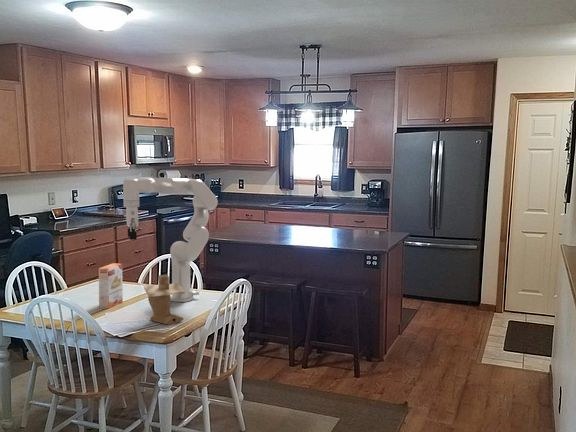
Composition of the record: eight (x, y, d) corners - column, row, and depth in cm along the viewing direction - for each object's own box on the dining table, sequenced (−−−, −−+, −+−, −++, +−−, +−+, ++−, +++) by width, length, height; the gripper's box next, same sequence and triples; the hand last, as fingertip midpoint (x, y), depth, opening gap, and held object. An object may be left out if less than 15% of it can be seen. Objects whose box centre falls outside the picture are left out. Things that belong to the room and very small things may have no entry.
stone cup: (143, 321, 246) (142, 290, 244) (163, 316, 255) (163, 285, 253) (163, 329, 236) (163, 296, 235) (184, 322, 246) (184, 291, 244)
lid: (177, 285, 255) (177, 271, 254) (184, 293, 240) (184, 278, 239) (143, 288, 248) (143, 273, 248) (148, 296, 234) (148, 281, 233)
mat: (142, 310, 263) (142, 309, 263) (147, 321, 247) (147, 319, 247) (104, 314, 257) (104, 312, 256) (106, 325, 240) (106, 324, 240)
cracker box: (109, 309, 264) (108, 268, 261) (98, 308, 265) (97, 268, 262) (123, 302, 277) (122, 263, 275) (113, 301, 278) (112, 262, 276)
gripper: (141, 205, 253) (142, 240, 255) (137, 201, 268) (138, 235, 271) (125, 205, 250) (125, 241, 252) (122, 202, 266) (122, 235, 268)
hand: (132, 237), depth 261 cm, fingers open, 9 cm apart
